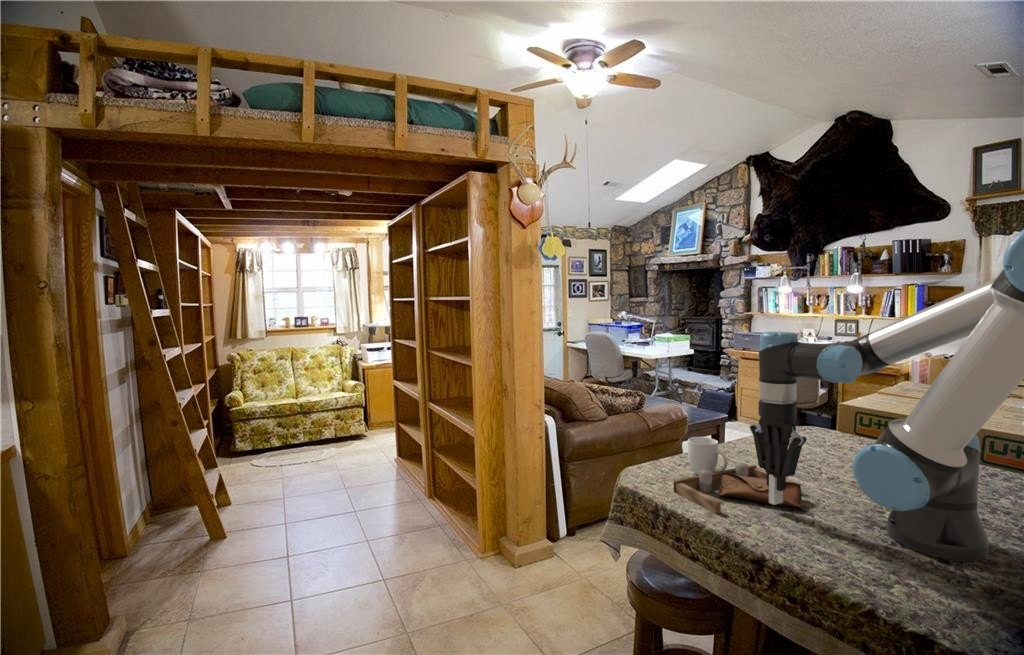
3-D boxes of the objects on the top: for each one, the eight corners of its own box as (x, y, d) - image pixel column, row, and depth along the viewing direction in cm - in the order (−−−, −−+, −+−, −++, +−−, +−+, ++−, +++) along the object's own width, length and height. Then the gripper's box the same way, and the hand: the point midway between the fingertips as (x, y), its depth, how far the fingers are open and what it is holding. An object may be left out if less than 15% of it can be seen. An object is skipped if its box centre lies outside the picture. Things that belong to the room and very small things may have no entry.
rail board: (800, 494, 120) (800, 474, 120) (715, 513, 111) (715, 492, 110) (753, 475, 133) (753, 457, 133) (673, 491, 124) (673, 472, 123)
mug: (733, 475, 134) (733, 442, 133) (720, 483, 128) (721, 448, 128) (695, 466, 141) (695, 435, 141) (682, 473, 136) (682, 440, 135)
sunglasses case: (717, 494, 118) (719, 467, 121) (719, 501, 123) (720, 474, 126) (804, 508, 110) (803, 478, 113) (801, 514, 115) (801, 486, 118)
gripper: (816, 404, 105) (814, 511, 107) (765, 393, 117) (763, 489, 119) (791, 407, 103) (789, 517, 104) (741, 396, 115) (740, 495, 116)
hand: (775, 502), depth 111 cm, fingers closed
